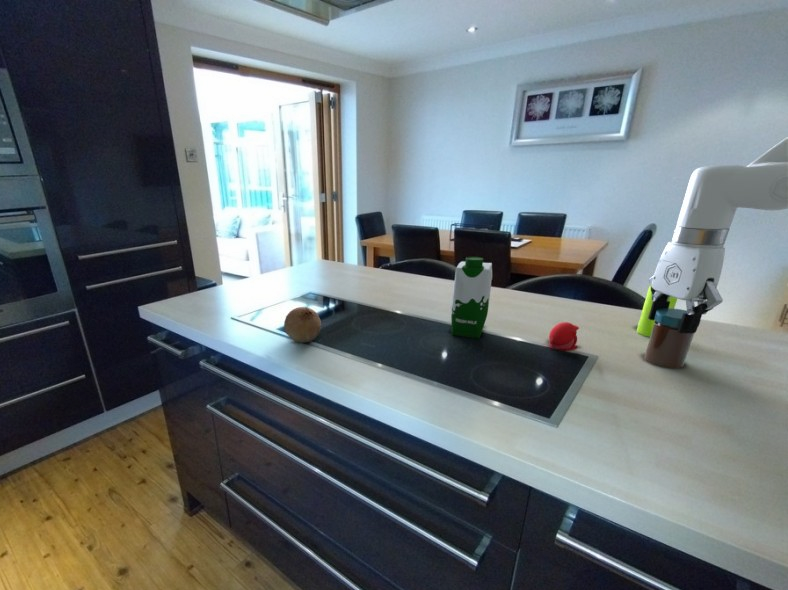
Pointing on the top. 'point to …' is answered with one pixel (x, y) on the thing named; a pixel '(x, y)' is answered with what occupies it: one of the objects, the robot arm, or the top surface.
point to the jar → (668, 346)
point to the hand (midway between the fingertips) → (670, 325)
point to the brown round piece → (302, 324)
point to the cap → (563, 337)
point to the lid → (670, 316)
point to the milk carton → (471, 297)
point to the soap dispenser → (645, 323)
